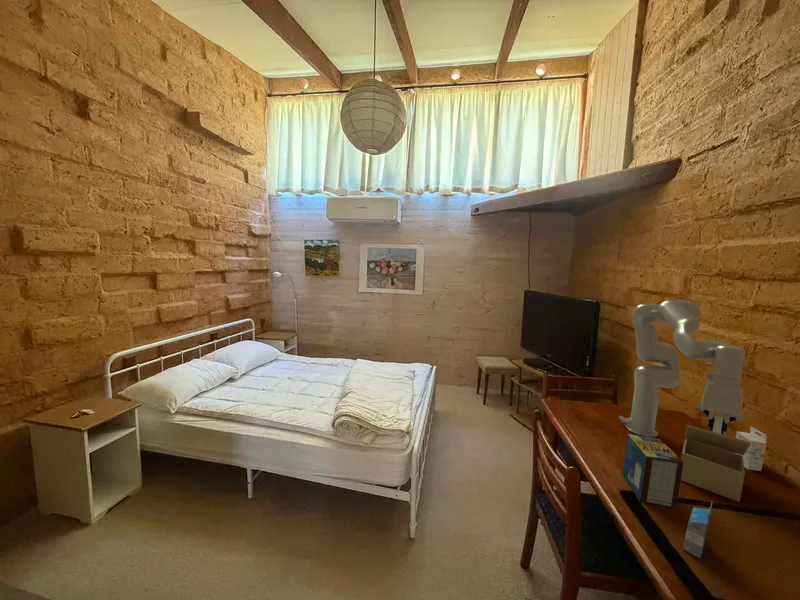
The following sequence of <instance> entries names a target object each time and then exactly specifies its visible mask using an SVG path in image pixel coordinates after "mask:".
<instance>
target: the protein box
mask: <svg viewBox="0 0 800 600" xmlns="http://www.w3.org/2000/svg"><path fill="white" fill-rule="evenodd" d="M625 445H626V446H625V451H624V459H623V466H622V473H621V475H622V476H623V478H624V479H625V481H626V483H627V484H628V485H629V487H630V488H631V491H632V492H633V493H634V495H635V496H636V497H637V499H638V501H639V502H642V503H647V504H653V505H658V506H663V507H668V508H673V509H677V507H678V501H679V494H680V489H681V477H682V470H683V464H684V462H683V461H682V460H681V458H680V457H679V456H678V455H677V454H676V453H675V452H674V451H673V450H671V448H670V447H669V446H668V445H667V444H666V443H664V442H663V440H661V439H660V438H656V437H655V438H649V437H643V436H639V435H637V434H631V433H630V434H629V433H628V434H627V437H626V444H625Z"/></svg>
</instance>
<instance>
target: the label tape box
mask: <svg viewBox="0 0 800 600" xmlns="http://www.w3.org/2000/svg"><path fill="white" fill-rule="evenodd" d="M712 508H713V502H711V503H710V507H709V508H703V507H701V508H700V507H693V508H692V510H691V513H690V515H689V519H688V522H687V527H686V531H685V535H684V541H683V544H682V545H683V546H682V550H683V551H686V552H687V553H688V554H690V555H692V556H693V557H697V558H699V559H701V558H702V554H703V550H704V547H705V542H706V537H707V535H708V530H709V529H708V528H709V524H710V519H711V515H712V511H713V509H712Z"/></svg>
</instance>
